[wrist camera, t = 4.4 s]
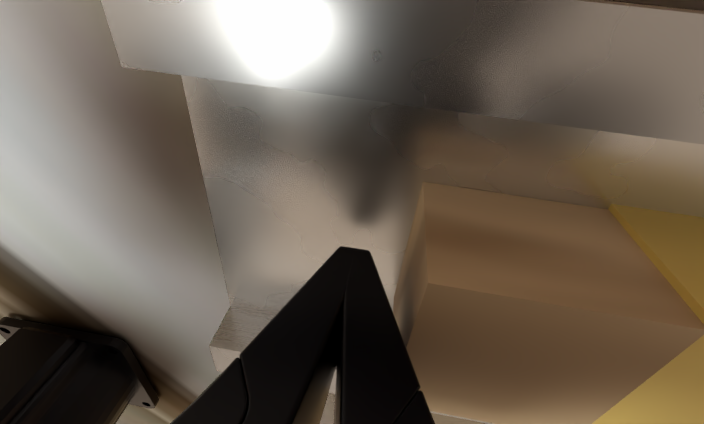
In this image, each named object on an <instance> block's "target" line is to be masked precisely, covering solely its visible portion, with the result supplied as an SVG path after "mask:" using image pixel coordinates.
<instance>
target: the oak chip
mask: <svg viewBox="0 0 704 424" xmlns="http://www.w3.org/2000/svg"><path fill="white" fill-rule="evenodd" d="M393 314H394V317H395V319H396V322H397V325H398V327H399V330H400V333H401V335H402V338H403V341H404V343H405V346H406V349H407V351H408V354H409V357H410V360H411V362H412V365H413V368H414V370H415V373H416V376H417V378H418V381H419V384H420V387H421V388H420V390H421V391H422V392H423V394H424V397H425V399H426V402H427V405H428V407H429V410H430V411H433V412H438V413H443V414H448V415H453V416H458V417H463V418H468V419H474V420H479V421H484V422H489V423H494V424H592V423H593V422H594V421H596V420H597V419H598V418H599V417H601V416H602V415H603V414H605V413H606V412H607V411H608V410H610V409H611V408H612V407H613V406H615V405H616V404H617V403H618V402H620V401H621V400H622V399H623V398H625V397H626V396H627V395H628V394H630V393H631V392H632V391H634V390H635V389H636V388H637V387H639V386H640V385H641V384H642V383H644V382H645V381H646V380H647V379H649V378H650V377H651V376H652V375H654V374H655V373H656V372H658V371H659V370H660V369H661V368H663V367H664V366H665V365H666V364H668V363H669V362H670V361H671V360H673V359H674V358H675V357H676V356H678V355H679V354H680V353H681V352H683V351H684V350H685V349H687V348H688V347H689V346H690V345H692V344H693V343H694V342H695V341H697V340H698V339H699V338H700V337H702V336H703V335H704V324H703V323H702V322H701V320H700V319H699V318H698V317H697V316H696V314H695V313H694V312H693V311H692V310H691V308H690V307H689V306H688V305H687V304H686V302H685V301H684V300H683V299H682V298H681V296H680V295H679V294H678V293H677V292H676V290H675V289H674V288H673V287H672V285H671V284H670V283H669V282H668V281H667V279H666V278H665V277H664V276H663V275H662V273H661V272H660V271H659V270H658V269H657V267H656V266H655V265H654V264H653V263H652V261H651V260H650V259H649V258H648V257H647V255H646V254H645V253H644V252H643V251H642V249H641V248H640V247H639V246H638V245H637V243H636V242H635V241H634V240H633V238H632V237H631V236H630V235H629V234H628V232H627V231H626V230H625V229H624V228H623V226H622V225H621V224H620V223H619V222H618V220H617V219H616V218H615V217H614V216H613V214H612V213H611V212H610V211H609V210H608V209H602V208H596V207H589V206H582V205H576V204H569V203H562V202H555V201H549V200H542V199H535V198H529V197H522V196H515V195H509V194H502V193H495V192H489V191H482V190H475V189H469V188H462V187H455V186H449V185H442V184H435V183H428V182H423V183H422V187H421V191H420V195H419V199H418V203H417V207H416V211H415V215H414V219H413V223H412V227H411V231H410V235H409V239H408V243H407V247H406V251H405V255H404V259H403V263H402V266H401V270H400V274H399V278H398V282H397V286H396V290H395V294H394V304H393ZM420 390H419V391H420Z"/></svg>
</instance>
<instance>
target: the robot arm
mask: <svg viewBox="0 0 704 424" xmlns="http://www.w3.org/2000/svg"><path fill="white" fill-rule="evenodd" d="M0 334H1V335H2V336H3V337H4V338H5V339H6V341H5V342H4V343H3V344H2V345H1V346H0V424H116V422H117V420H118V419H119V417H120V416H121V414H122V413H123V411H124V410H125V408H126V407H127V405H128V404H131V405H136V406H141V407H146V408H155V406H156V405H157V403H158V401H159V398H158V396H157V394H156V393H155V391H154V389H153V387H152V386H151V384H150V382H149V380H148V379H147V377H146V375H145V374H144V372H143V370H142V368H141V367H140V365H139V363H138V361H137V360H136V358H135V356H134V354H133V353H132V351H131V349H130V347H129V346H128V344H127V343H125V342H124V341H122V340H120V339H118V338H114V337H109V336H104V335H98V334H93V333H88V332H83V331H77V330H72V329H67V328H62V327H57V326H51V325H46V324H41V323H36V322H30V321H25V320H20V319H15V318H9V317H3V318H2V319H0ZM239 357H240V358H238V357H237V358H235V359H234V360H233V361H232V363H231V364H230V365H229V366H228V367H227V368H226V369H225V370H224V371H223V372H222V373H221V374H220V375H219V377H218V378H217V379H216V380H215V381H214V382H213V383H212V384H211V385H210V386H209V387H208V388H207V389H206V390H205V391H204V392H203V393H202V394H201V395H200V396H199V397H198V398H197V399H196V400H195V401H194V402H193V403H192V404H191V405H190V406H189V407H187V408H186V409H185V410H184V411H183V412H182V413H181V414H180V415H179V416H178V417H177V418H176V419H175V420H173V421H172V422H171V423H170V424H319V423H320V420H321V417H322V413H323V410H324V406H325V403H326V400H327V396H328V393H329V389H330V386H331V383H332V379H333V376H334V372H335V369H336V388H335V407H334V424H435V423H434V420H433V418H432V415H431V413H430V410H429V407H428V405H427V402H426V399H425V397H424V394H423V392H422V391H421V390H420V388H421V387H420V384H419V381H418V378H417V376H416V373H415V370H414V368H413V365H412V362H411V360H410V357H409V354H408V351H407V349H406V346H405V343H404V341H403V338H402V335H401V333H400V330H399V327H398V325H397V322H396V319H395V317H394V314H393V311H392V308H391V306H390V303H389V300H388V298H387V295H386V292H385V290H384V287H383V284H382V282H381V279H380V276H379V274H378V271H377V268H376V265H375V263H374V260H373V257H372V255H371V253H370V251H369V250H364V249H358V248H351V247H345V246H340V247H339V248H338V249H337V250H336V251H335V252H334V253H333V254H332V255H331V256H330V257H329V258H328V259H327V260H326V261H325V263H324V264H323V265H322V266H321V267H320V268H319V269H318V270H317V271H316V272H315V273H314V274H313V275H312V277H311V278H310V279H309V280H308V281H307V282H306V283H305V284H304V285H303V286H302V287H301V288H300V289H299V291H298V292H297V293H296V294H295V295H294V296H293V297H292V298H291V299H290V300H289V301H288V302H287V304H286V305H285V306H284V307H283V308H282V309H281V310H280V311H279V312H278V313H277V314H276V315H275V316H274V318H273V319H272V320H271V321H270V322H269V323H268V324H267V325H266V326H265V327H264V328H263V329H262V330H261V332H260V333H259V334H258V335H257V336H256V337H255V338H254V339H253V340H252V341H251V342H250V343H249V344H248V346H247V347H246V348H245V349H244V350H243V351H242V352H241V353H240V355H239ZM336 366H337V368H336ZM419 390H420V391H419Z"/></svg>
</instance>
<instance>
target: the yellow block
mask: <svg viewBox="0 0 704 424" xmlns="http://www.w3.org/2000/svg"><path fill="white" fill-rule="evenodd" d="M608 210H609V211H610V212H611V213H612V214H613V216H614V217H615V218H616V219H617V220H618V222H619V223H620V224H621V225H622V226H623V228H624V229H625V230H626V231H627V232H628V234H629V235H630V236H631V237H632V238H633V240H634V241H635V242H636V243H637V245H638V246H639V247H640V248H641V249H642V251H643V252H644V253H645V254H646V255H647V257H648V258H649V259H650V260H651V261H652V263H653V264H654V265H655V266H656V267H657V269H658V270H659V271H660V272H661V273H662V275H663V276H664V277H665V278H666V279H667V281H668V282H669V283H670V284H671V285H672V287H673V288H674V289H675V290H676V292H677V293H678V294H679V295H680V296H681V298H682V299H683V300H684V301H685V302H686V304H687V305H688V306H689V307H690V308H691V310H692V311H693V312H694V313H695V314H696V316H697V317H698V318H699V319H700V320H701V322H702V323H703V324H704V217H697V216H691V215H684V214H677V213H670V212H664V211H657V210H650V209H643V208H637V207H630V206H623V205H616V204H611V205H610V207H609V208H608ZM592 424H704V335H703V336H702V337H700V338H699V339H698V340H697V341H695V342H694V343H693V344H692V345H690V346H689V347H688V348H687V349H685V350H684V351H683V352H681V353H680V354H679V355H678V356H676V357H675V358H674V359H673V360H671V361H670V362H669V363H668V364H666V365H665V366H664V367H663V368H661V369H660V370H659V371H658V372H656V373H655V374H654V375H652V376H651V377H650V378H649V379H647V380H646V381H645V382H644V383H642V384H641V385H640V386H639V387H637V388H636V389H635V390H634V391H632V392H631V393H630V394H628V395H627V396H626V397H625V398H623V399H622V400H621V401H620V402H618V403H617V404H616V405H615V406H613V407H612V408H611V409H610V410H608V411H607V412H606V413H605V414H603V415H602V416H601V417H599V418H598V419H597V420H596V421H594V422H593V423H592Z"/></svg>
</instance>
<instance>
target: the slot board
mask: <svg viewBox="0 0 704 424" xmlns="http://www.w3.org/2000/svg"><path fill="white" fill-rule="evenodd" d="M101 3H102V6H103V10H104V13H105V16H106V19H107V22H108V26H109V29H110V32H111V35H112V38H113V42H114V45H115V48H116V51H117V54H118V58H119V61H120V64H121V67H123V68H131V69H138V70H146V71H154V72H161V73H169V74H176V75H181V78H182V82H183V87H184V92H185V96H186V101H187V106H188V110H189V115H190V120H191V124H192V129H193V134H194V138H195V143H196V148H197V152H198V157H199V162H200V166H201V171H202V175H203V180H204V185H205V189H206V194H207V199H208V203H209V208H210V213H211V217H212V222H213V227H214V231H215V236H216V241H217V245H218V250H219V255H220V259H221V264H222V269H223V273H224V278H225V282H226V287H227V292H228V296H229V301H230V308H229V310H228V312H227V313H226V315H225V317H224V319H223V321H222V323H221V324H220V326H219V328H218V330H217V332H216V334H215V336H214V337H213V339H212V341H211V343H210V345H209V348H210V351H211V354H212V357H213V361H214V364H215V367H216V370H217V371H219V372H223V371H224V370H225V369H226V368H227V367H228V366H229V365H230V364H231V363H232V361H233V360H234V359H235V358H237V357H238V358H240V357H239V355H240V353H241V352H242V351H243V350H244V349H245V348H246V347H247V346H248V344H249V343H250V342H251V341H252V340H253V339H254V338H255V337H256V336H257V335H258V334H259V333H260V332H261V330H262V329H263V328H264V327H265V326H266V325H267V324H268V323H269V322H270V321H271V320H272V319H273V318H274V316H275V315H276V314H277V313H278V312H279V311H280V310H281V309H282V308H283V307H284V306H285V305H286V304H287V302H288V301H289V300H290V299H291V298H292V297H293V296H294V295H295V294H296V293H297V292H298V291H299V289H300V288H301V287H302V286H303V285H304V284H305V283H306V282H307V281H308V280H309V279H310V278H311V277H312V275H313V274H314V273H315V272H316V271H317V270H318V269H319V268H320V267H321V266H322V265H323V264H324V263H325V261H326V260H327V259H328V258H329V257H330V256H331V255H332V254H333V253H334V252H335V251H336V250H337V249H338V248H339V247H340V246H345V247H351V248H358V249H364V250H369V251H370V253H371V255H372V257H373V260H374V263H375V265H376V268H377V271H378V274H379V276H380V279H381V282H382V284H383V287H384V290H385V292H386V295H387V298H388V300H389V303H390V306H391V308H392V311H393V304H394V294H395V290H396V286H397V282H398V278H399V274H400V270H401V266H402V263H403V259H404V255H405V251H406V247H407V243H408V239H409V235H410V231H411V227H412V223H413V219H414V215H415V211H416V207H417V203H418V199H419V195H420V191H421V187H422V183H423V182H428V183H435V184H442V185H449V186H455V187H462V188H469V189H475V190H482V191H489V192H495V193H502V194H509V195H515V196H522V197H529V198H535V199H542V200H549V201H555V202H562V203H569V204H576V205H582V206H589V207H596V208H602V209H608V208H609V207H610V205H611V204H616V205H623V206H630V207H637V208H643V209H650V210H657V211H664V212H670V213H677V214H684V215H691V216H697V217H704V11H699V10H689V9H680V8H671V7H661V6H652V5H643V4H633V3H624V2H615V1H605V0H101ZM336 368H337V366H336ZM335 388H336V369H335V372H334V376H333V379H332V383H331V386H330V389H329V393H333V394H335ZM430 412H431V413H436V414H441V415H446V416H451V417H456V418H462V419H467V420H472V421H477V422H482V423H487V424H494V423H489V422H484V421H479V420H474V419H468V418H463V417H458V416H453V415H448V414H443V413H438V412H433V411H430Z"/></svg>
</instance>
